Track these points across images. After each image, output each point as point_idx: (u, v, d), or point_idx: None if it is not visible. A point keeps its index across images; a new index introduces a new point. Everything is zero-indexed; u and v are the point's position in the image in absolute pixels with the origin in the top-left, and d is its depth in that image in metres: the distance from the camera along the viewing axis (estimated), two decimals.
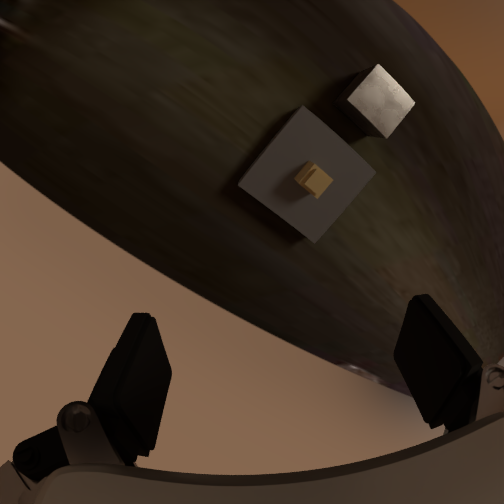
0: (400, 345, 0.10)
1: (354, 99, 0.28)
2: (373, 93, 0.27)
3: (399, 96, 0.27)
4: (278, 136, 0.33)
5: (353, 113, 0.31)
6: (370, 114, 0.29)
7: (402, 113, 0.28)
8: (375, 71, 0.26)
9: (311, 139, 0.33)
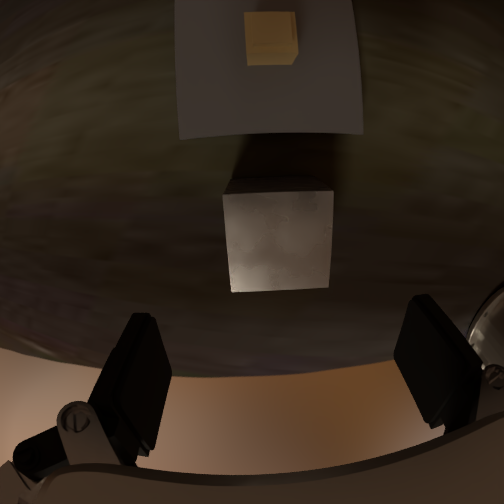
0: (400, 345, 0.10)
1: (322, 201, 0.17)
2: (302, 238, 0.18)
3: (262, 275, 0.19)
4: (358, 68, 0.16)
5: (291, 183, 0.19)
6: (281, 203, 0.17)
7: (235, 257, 0.19)
8: (324, 272, 0.19)
9: (315, 95, 0.17)
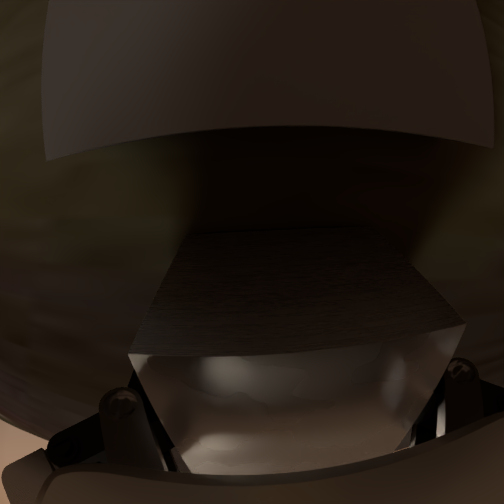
0: None
1: (433, 353, 0.05)
2: (360, 425, 0.06)
3: (257, 471, 0.07)
4: (474, 4, 0.04)
5: (339, 272, 0.07)
6: (321, 376, 0.05)
7: (195, 454, 0.06)
8: (386, 452, 0.07)
9: (402, 33, 0.05)
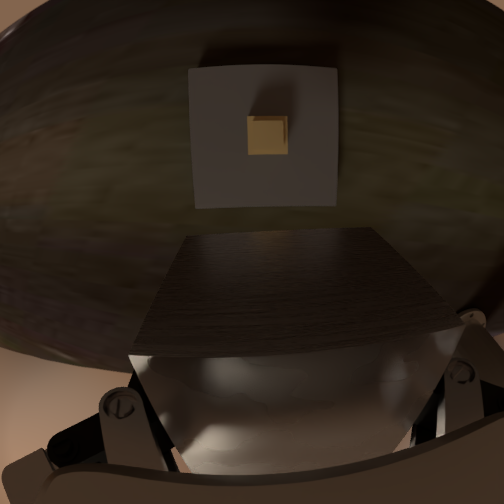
0: None
1: (432, 354, 0.05)
2: (360, 426, 0.06)
3: (257, 471, 0.07)
4: (336, 152, 0.24)
5: (338, 273, 0.07)
6: (320, 377, 0.05)
7: (195, 454, 0.06)
8: (385, 452, 0.07)
9: (300, 176, 0.25)
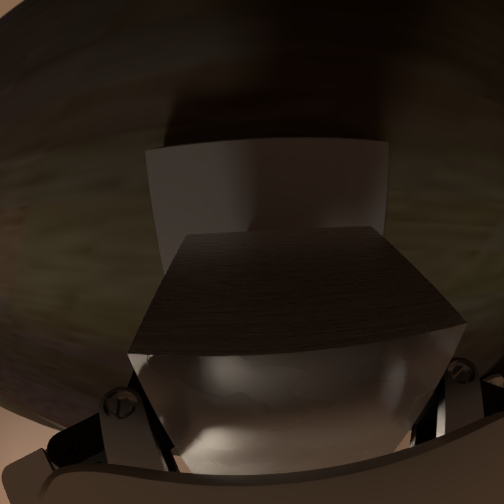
0: None
1: (433, 353, 0.05)
2: (360, 425, 0.06)
3: (257, 471, 0.07)
4: None
5: (339, 272, 0.07)
6: (321, 376, 0.05)
7: (195, 454, 0.06)
8: (386, 451, 0.07)
9: None
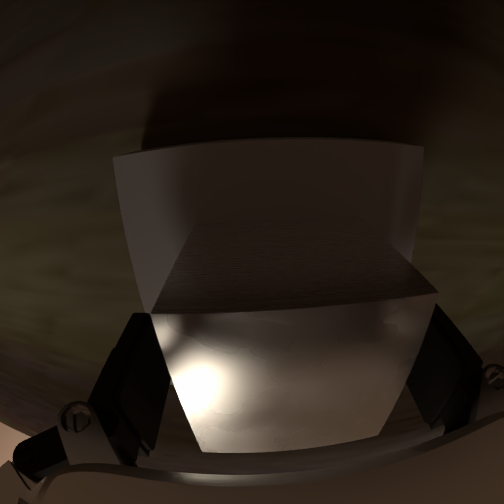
0: None
1: (410, 319, 0.06)
2: (350, 388, 0.07)
3: (259, 438, 0.08)
4: None
5: (328, 252, 0.08)
6: (311, 333, 0.06)
7: (202, 418, 0.08)
8: (377, 422, 0.08)
9: None
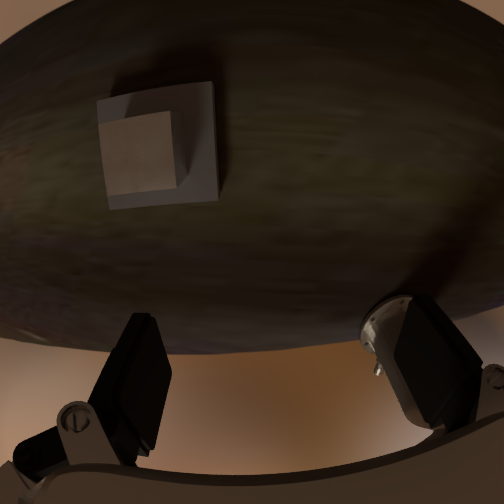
0: (400, 345, 0.10)
1: (162, 119, 0.21)
2: (151, 148, 0.22)
3: (126, 180, 0.23)
4: (213, 154, 0.28)
5: None
6: (134, 124, 0.21)
7: (107, 167, 0.22)
8: (171, 175, 0.23)
9: None
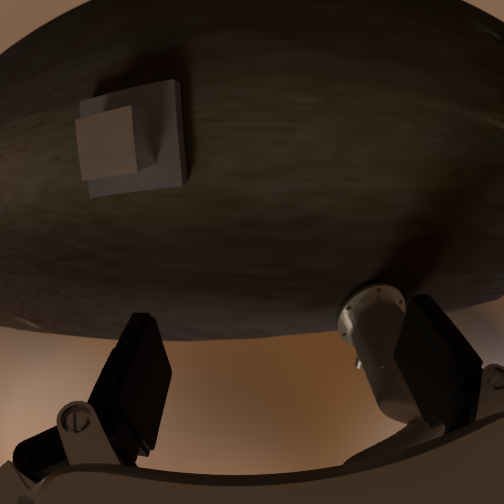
0: (400, 345, 0.10)
1: (125, 113, 0.23)
2: (116, 138, 0.24)
3: (97, 166, 0.25)
4: (177, 144, 0.30)
5: None
6: (103, 118, 0.23)
7: (82, 156, 0.25)
8: (132, 160, 0.25)
9: (152, 166, 0.31)
